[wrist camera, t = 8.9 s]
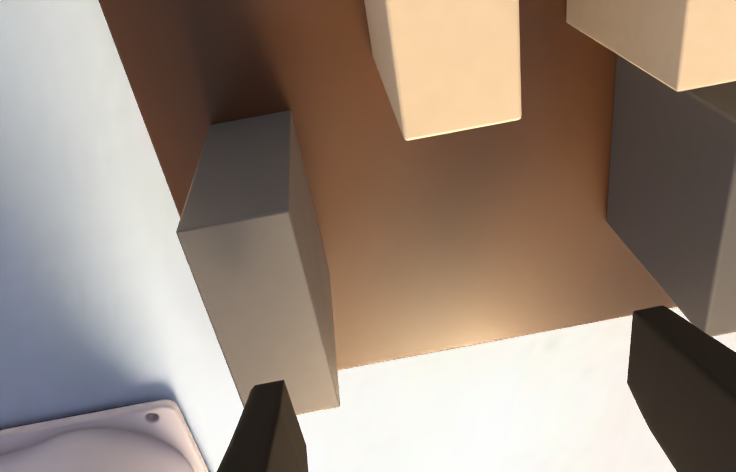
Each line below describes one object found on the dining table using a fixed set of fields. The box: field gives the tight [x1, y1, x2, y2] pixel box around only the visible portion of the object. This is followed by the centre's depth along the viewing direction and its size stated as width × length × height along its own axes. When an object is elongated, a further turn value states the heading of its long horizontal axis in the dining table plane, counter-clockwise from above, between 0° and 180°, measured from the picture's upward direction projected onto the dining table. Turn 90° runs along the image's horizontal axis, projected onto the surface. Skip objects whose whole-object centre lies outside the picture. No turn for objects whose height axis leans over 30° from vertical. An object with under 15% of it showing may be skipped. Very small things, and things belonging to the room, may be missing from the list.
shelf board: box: [99, 0, 677, 370], centre depth 19 cm, size 18×19×1 cm
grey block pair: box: [176, 54, 736, 415], centre depth 17 cm, size 14×6×6 cm, turn 99°
